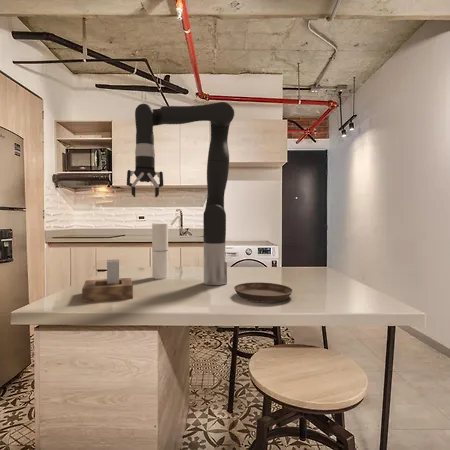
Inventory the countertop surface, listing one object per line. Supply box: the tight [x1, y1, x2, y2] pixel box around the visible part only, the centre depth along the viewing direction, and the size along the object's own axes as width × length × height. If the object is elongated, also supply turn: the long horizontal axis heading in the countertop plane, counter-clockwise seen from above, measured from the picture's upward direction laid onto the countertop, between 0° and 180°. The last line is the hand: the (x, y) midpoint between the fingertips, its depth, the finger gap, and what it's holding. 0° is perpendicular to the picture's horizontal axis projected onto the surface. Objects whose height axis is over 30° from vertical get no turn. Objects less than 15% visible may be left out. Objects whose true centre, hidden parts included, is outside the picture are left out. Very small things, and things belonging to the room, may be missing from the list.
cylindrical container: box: [151, 222, 169, 280], centre depth 146 cm, size 7×7×25 cm
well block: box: [81, 277, 134, 303], centre depth 113 cm, size 16×14×4 cm
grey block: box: [106, 258, 120, 285], centre depth 113 cm, size 7×6×12 cm
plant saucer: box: [233, 282, 294, 303], centre depth 112 cm, size 21×21×3 cm
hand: (145, 197), depth 127 cm, fingers open, 8 cm apart
